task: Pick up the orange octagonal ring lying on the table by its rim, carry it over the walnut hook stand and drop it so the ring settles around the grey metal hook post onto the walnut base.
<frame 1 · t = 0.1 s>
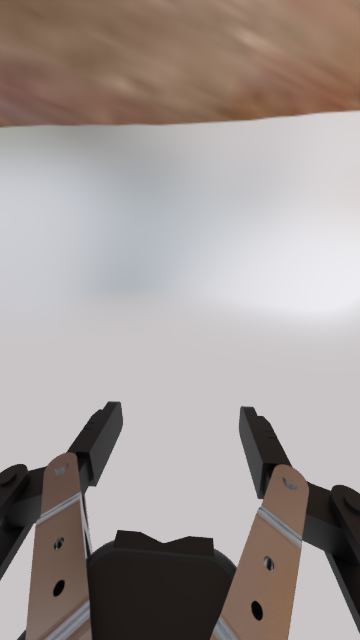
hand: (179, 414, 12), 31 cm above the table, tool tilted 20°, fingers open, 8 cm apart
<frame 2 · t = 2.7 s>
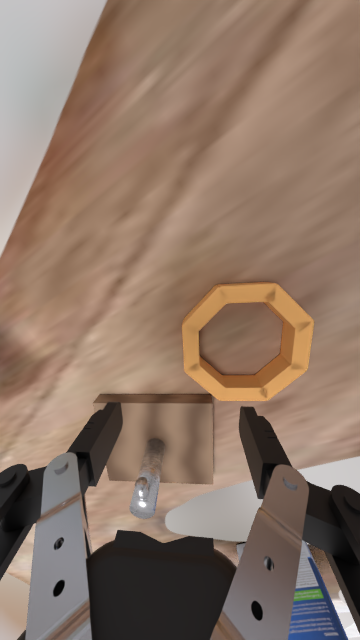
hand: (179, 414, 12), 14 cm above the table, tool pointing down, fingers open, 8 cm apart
string lights box: (272, 546, 36), on the table
orange octagonal ring: (239, 339, 25), on the table
hook stand: (158, 434, 31), on the table
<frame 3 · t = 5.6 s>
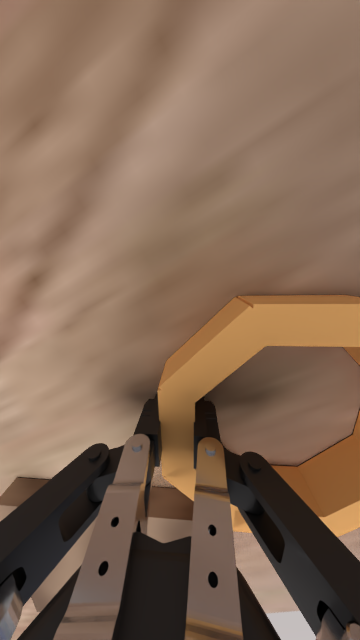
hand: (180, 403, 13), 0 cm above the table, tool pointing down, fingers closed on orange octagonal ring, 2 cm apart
orange octagonal ring: (274, 404, 13), on the table, touching gripper
hook stand: (120, 542, 18), on the table
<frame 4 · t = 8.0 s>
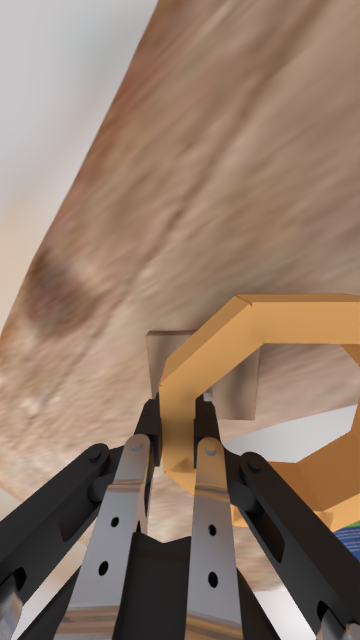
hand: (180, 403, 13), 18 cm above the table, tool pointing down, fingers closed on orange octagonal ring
string lights box: (305, 492, 38), on the table
orange octagonal ring: (273, 401, 13), point 17 cm above the table, touching gripper
hook stand: (202, 373, 32), on the table
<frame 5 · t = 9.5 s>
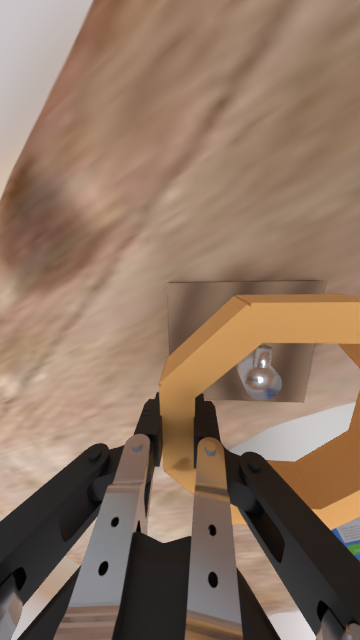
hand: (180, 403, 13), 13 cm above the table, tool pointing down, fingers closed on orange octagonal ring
string lights box: (351, 495, 31), on the table
orange octagonal ring: (272, 400, 13), point 12 cm above the table, touching gripper
hook stand: (236, 340, 25), on the table
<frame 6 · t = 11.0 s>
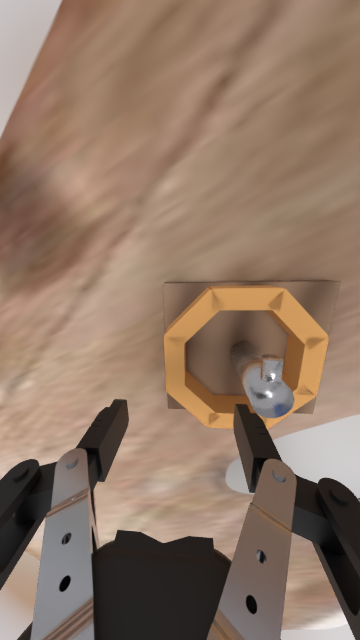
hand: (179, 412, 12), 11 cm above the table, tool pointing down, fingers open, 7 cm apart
orange octagonal ring: (234, 353, 21), point 2 cm above the table, touching hook stand
hook stand: (238, 346, 23), on the table
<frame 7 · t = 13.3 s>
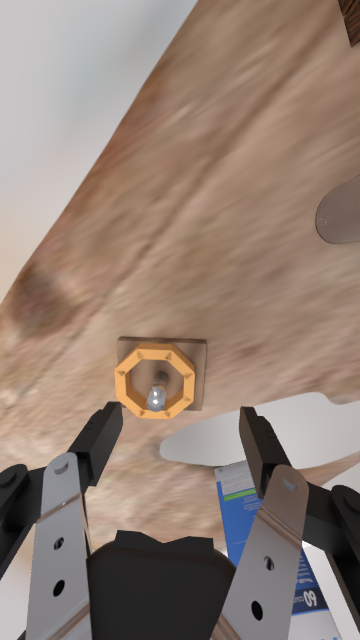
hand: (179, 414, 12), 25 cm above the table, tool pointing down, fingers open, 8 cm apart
stack of crates: (341, 25, 26), on the table
string lights box: (241, 470, 47), on the table
orange octagonal ring: (156, 377, 38), point 2 cm above the table, touching hook stand
hook stand: (162, 372, 40), on the table
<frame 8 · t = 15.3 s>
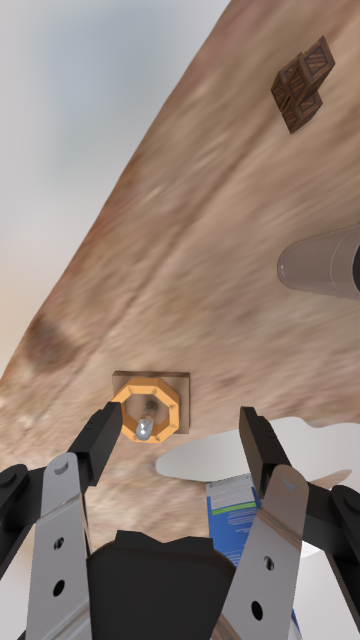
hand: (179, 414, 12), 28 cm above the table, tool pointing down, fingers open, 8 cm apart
stack of crates: (281, 116, 30), on the table
string lights box: (231, 485, 51), on the table
orange octagonal ring: (147, 405, 43), point 2 cm above the table, touching hook stand
hook stand: (153, 400, 45), on the table
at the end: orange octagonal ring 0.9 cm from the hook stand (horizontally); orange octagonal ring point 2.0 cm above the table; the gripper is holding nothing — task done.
